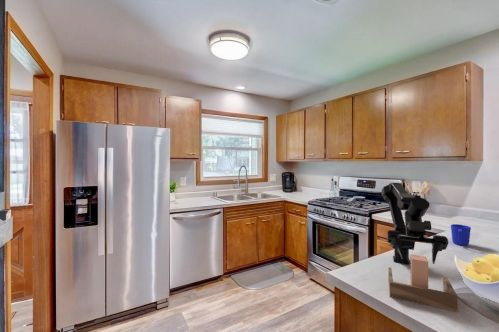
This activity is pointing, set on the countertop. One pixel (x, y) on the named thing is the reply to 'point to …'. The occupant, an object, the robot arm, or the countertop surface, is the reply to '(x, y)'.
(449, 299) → the brown u-shaped piece
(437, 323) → the countertop surface
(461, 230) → the mug
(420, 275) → the block
